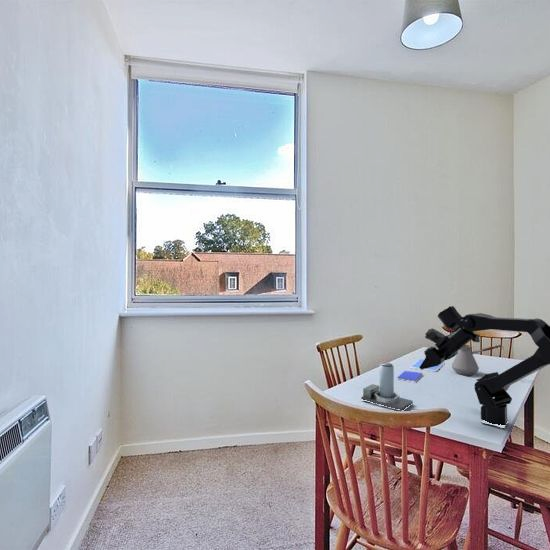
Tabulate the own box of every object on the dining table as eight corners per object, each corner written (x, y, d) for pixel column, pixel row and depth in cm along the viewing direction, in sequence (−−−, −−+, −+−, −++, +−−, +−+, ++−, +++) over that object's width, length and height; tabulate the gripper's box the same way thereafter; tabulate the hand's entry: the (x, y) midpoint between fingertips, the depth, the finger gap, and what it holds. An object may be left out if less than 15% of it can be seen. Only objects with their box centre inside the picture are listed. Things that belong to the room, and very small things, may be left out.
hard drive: (404, 370, 173) (396, 377, 163) (422, 373, 168) (415, 380, 158) (404, 373, 173) (396, 380, 163) (422, 376, 168) (415, 383, 158)
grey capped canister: (394, 397, 136) (394, 363, 136) (392, 401, 131) (392, 366, 131) (380, 395, 138) (380, 361, 138) (378, 399, 133) (378, 364, 133)
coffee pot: (449, 373, 170) (448, 342, 169) (454, 368, 179) (453, 338, 179) (502, 381, 157) (502, 347, 157) (505, 375, 166) (504, 342, 166)
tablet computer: (419, 361, 196) (419, 358, 196) (445, 364, 188) (445, 361, 188) (409, 369, 180) (409, 366, 180) (436, 373, 173) (436, 370, 173)
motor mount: (412, 404, 132) (412, 392, 132) (402, 411, 126) (402, 399, 126) (372, 394, 143) (372, 383, 143) (361, 400, 137) (361, 389, 137)
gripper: (448, 319, 137) (419, 344, 145) (430, 325, 124) (399, 352, 132) (471, 342, 132) (440, 367, 140) (454, 351, 118) (421, 378, 126)
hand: (425, 365), depth 134 cm, fingers open, 9 cm apart
